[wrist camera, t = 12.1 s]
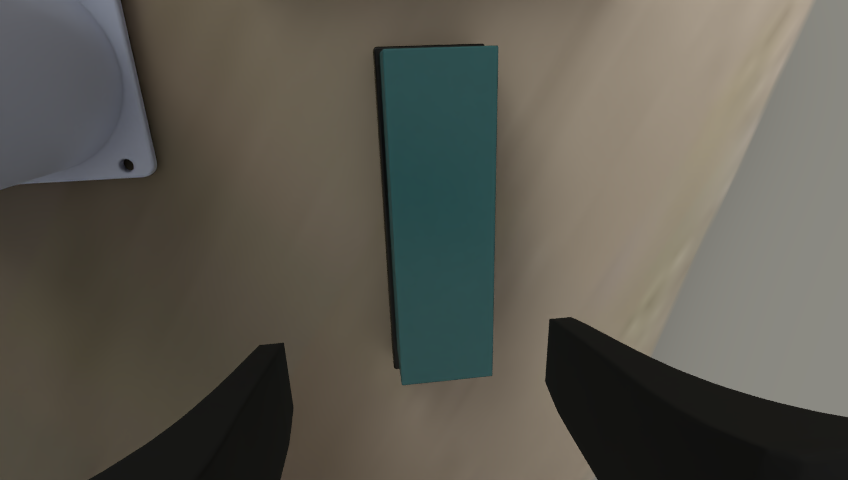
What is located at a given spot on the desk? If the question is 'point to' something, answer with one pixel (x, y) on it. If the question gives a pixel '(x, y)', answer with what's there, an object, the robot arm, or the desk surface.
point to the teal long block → (439, 205)
